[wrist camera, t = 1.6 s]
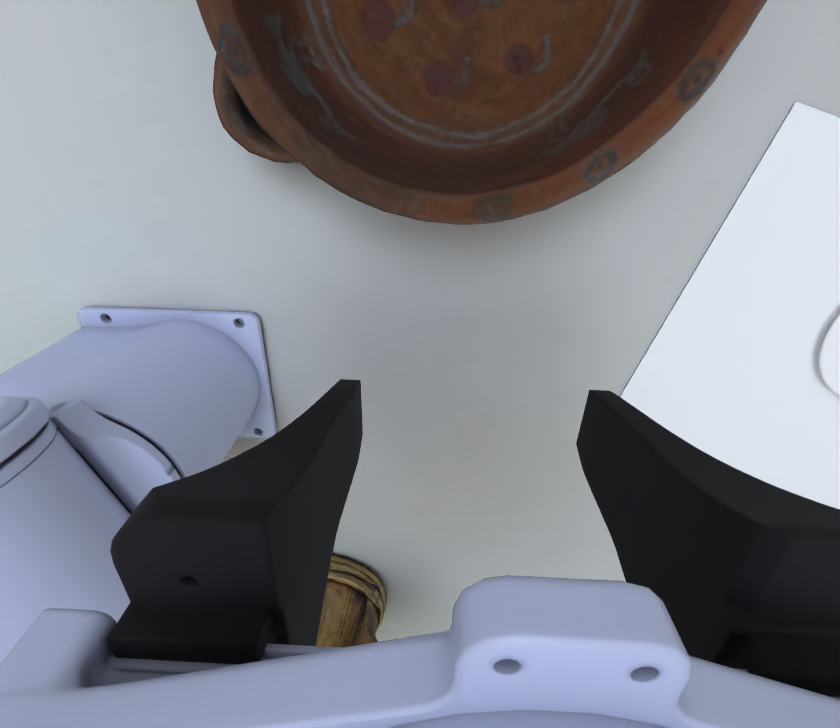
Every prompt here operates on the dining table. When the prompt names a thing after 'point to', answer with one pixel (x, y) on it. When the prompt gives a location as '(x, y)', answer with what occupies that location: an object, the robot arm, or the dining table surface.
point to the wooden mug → (350, 605)
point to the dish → (464, 92)
